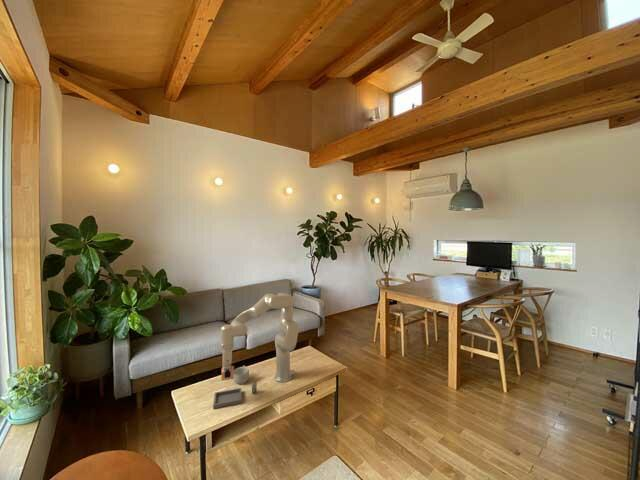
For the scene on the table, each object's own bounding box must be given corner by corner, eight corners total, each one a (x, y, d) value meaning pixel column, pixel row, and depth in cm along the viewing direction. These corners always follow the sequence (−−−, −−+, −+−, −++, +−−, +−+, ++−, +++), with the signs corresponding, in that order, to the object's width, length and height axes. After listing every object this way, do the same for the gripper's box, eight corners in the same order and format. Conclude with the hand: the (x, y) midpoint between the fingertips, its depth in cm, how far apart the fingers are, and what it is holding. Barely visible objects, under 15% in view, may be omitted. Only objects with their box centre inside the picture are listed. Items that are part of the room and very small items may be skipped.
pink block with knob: (222, 375, 167) (222, 367, 167) (233, 373, 169) (233, 365, 169) (221, 380, 160) (221, 372, 160) (233, 378, 162) (233, 370, 162)
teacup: (244, 386, 179) (244, 375, 178) (229, 385, 181) (229, 373, 181) (253, 375, 192) (253, 364, 192) (240, 374, 195) (239, 363, 194)
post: (256, 391, 174) (256, 381, 173) (256, 393, 171) (256, 383, 170) (251, 392, 173) (251, 382, 172) (252, 394, 170) (251, 384, 170)
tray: (241, 391, 173) (241, 387, 173) (241, 403, 161) (241, 399, 161) (214, 396, 169) (214, 392, 169) (213, 409, 156) (213, 405, 156)
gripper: (221, 341, 171) (221, 368, 172) (220, 352, 155) (220, 382, 155) (233, 339, 173) (234, 366, 174) (233, 350, 157) (234, 380, 157)
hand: (227, 374), depth 164 cm, fingers closed on pink block with knob, 7 cm apart
